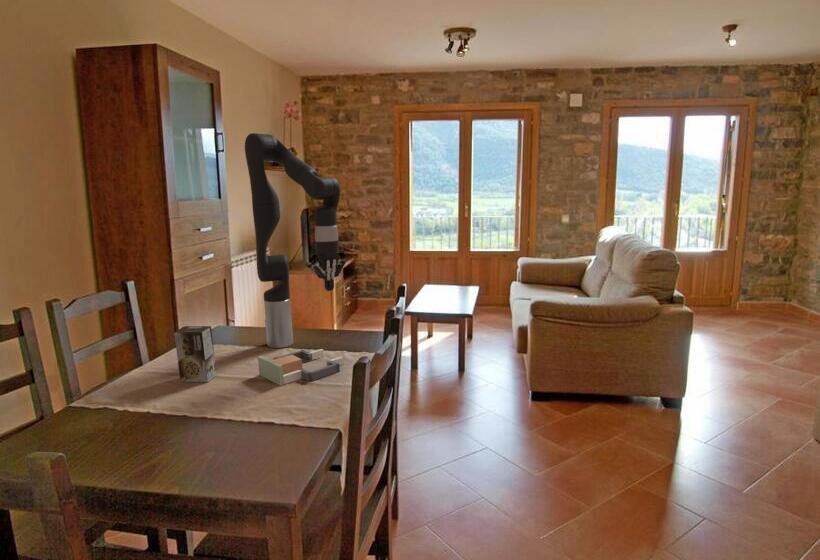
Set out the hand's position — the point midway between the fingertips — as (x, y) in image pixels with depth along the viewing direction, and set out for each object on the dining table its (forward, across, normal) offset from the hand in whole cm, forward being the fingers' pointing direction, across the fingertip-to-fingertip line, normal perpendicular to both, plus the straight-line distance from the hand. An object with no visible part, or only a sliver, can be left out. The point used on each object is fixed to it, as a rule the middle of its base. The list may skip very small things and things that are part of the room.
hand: (329, 290), depth 178 cm
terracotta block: (+23, +20, +2) cm, 30 cm away
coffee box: (+23, +41, -14) cm, 49 cm away
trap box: (+23, +14, +4) cm, 27 cm away
